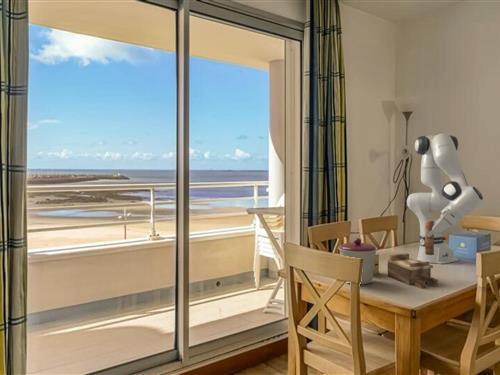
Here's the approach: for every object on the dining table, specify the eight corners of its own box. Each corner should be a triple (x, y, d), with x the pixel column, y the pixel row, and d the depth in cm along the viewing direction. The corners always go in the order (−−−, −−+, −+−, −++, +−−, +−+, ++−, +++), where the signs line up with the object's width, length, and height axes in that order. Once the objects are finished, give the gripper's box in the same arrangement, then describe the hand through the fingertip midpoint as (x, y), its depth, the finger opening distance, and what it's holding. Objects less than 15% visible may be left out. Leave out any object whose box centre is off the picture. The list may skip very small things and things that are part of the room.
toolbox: (407, 273, 208) (407, 260, 208) (440, 285, 187) (440, 270, 187) (387, 276, 204) (387, 262, 204) (418, 288, 183) (418, 273, 183)
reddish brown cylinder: (429, 252, 200) (430, 220, 199) (435, 254, 197) (435, 221, 196) (423, 253, 199) (423, 221, 198) (429, 255, 196) (429, 222, 194)
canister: (347, 288, 185) (347, 242, 184) (332, 278, 203) (332, 235, 202) (384, 286, 189) (384, 240, 187) (366, 275, 206) (366, 234, 205)
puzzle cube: (351, 273, 211) (351, 254, 211) (362, 269, 218) (362, 251, 217) (367, 277, 204) (367, 257, 203) (379, 273, 210) (379, 254, 210)
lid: (407, 259, 208) (407, 252, 207) (433, 267, 191) (433, 260, 191) (387, 261, 204) (387, 254, 204) (411, 270, 187) (411, 262, 187)
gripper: (446, 207, 202) (424, 226, 208) (444, 213, 184) (421, 233, 190) (456, 217, 201) (434, 235, 206) (455, 223, 183) (431, 243, 188)
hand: (428, 234), depth 198 cm, fingers closed on reddish brown cylinder, 4 cm apart
